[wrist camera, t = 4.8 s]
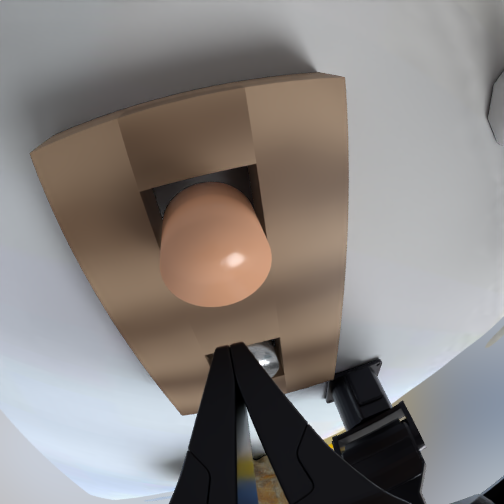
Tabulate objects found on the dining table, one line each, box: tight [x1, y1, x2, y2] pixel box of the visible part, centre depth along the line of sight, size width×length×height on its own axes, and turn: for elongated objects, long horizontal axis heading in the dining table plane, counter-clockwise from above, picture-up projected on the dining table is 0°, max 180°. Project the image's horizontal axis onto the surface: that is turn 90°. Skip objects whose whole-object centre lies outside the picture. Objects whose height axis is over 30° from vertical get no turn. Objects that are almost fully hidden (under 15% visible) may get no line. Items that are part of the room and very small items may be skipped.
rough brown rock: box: [253, 455, 289, 504], centre depth 41 cm, size 23×17×15 cm
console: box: [30, 72, 349, 416], centre depth 19 cm, size 24×14×3 cm, turn 8°
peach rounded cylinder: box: [160, 182, 272, 307], centre depth 13 cm, size 4×4×3 cm
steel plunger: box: [247, 340, 279, 378], centre depth 23 cm, size 4×4×3 cm
